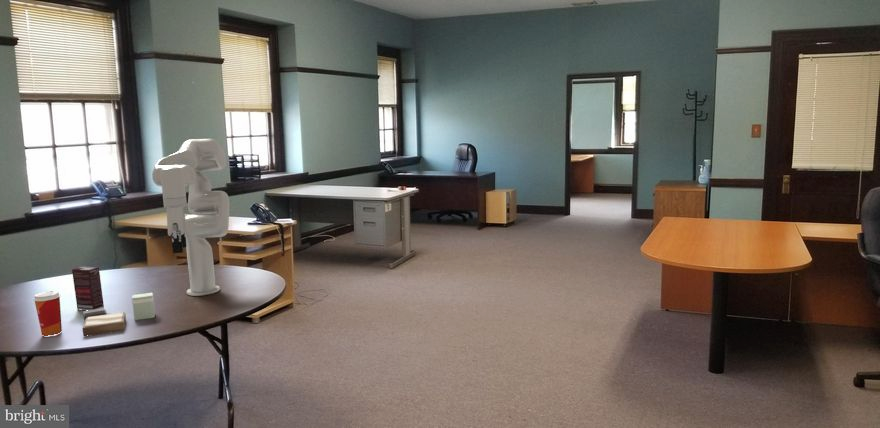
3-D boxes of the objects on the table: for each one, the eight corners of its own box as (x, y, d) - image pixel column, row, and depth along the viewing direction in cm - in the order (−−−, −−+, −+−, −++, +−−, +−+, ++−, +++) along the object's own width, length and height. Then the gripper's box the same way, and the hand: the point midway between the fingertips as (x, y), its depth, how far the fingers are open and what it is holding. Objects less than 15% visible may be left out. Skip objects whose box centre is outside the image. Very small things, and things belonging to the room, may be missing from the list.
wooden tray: (87, 325, 218) (86, 316, 218) (126, 320, 223) (125, 311, 222) (83, 336, 207) (82, 327, 207) (124, 330, 212) (123, 321, 211)
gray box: (84, 321, 223) (82, 311, 223) (106, 317, 227) (105, 307, 226) (85, 325, 220) (83, 313, 219) (107, 320, 224) (106, 309, 223)
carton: (134, 316, 227) (132, 295, 226) (155, 313, 229) (152, 292, 228) (134, 320, 223) (131, 298, 221) (154, 317, 225) (152, 295, 224)
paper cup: (46, 331, 214) (40, 291, 212) (69, 329, 215) (64, 289, 212) (33, 339, 206) (27, 297, 204) (58, 337, 207) (52, 296, 205)
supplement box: (104, 308, 239) (99, 267, 236) (94, 311, 234) (88, 270, 231) (87, 306, 241) (82, 265, 239) (76, 310, 237) (71, 269, 234)
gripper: (167, 200, 229) (172, 246, 232) (159, 206, 213) (164, 256, 215) (189, 198, 231) (194, 244, 234) (183, 204, 215) (188, 254, 217)
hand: (180, 250), depth 225 cm, fingers open, 9 cm apart
